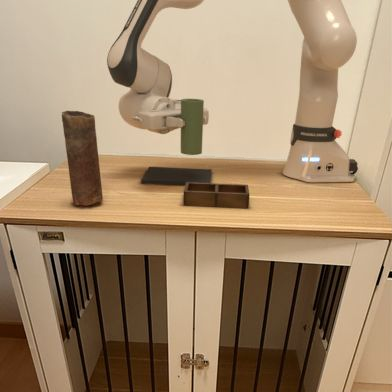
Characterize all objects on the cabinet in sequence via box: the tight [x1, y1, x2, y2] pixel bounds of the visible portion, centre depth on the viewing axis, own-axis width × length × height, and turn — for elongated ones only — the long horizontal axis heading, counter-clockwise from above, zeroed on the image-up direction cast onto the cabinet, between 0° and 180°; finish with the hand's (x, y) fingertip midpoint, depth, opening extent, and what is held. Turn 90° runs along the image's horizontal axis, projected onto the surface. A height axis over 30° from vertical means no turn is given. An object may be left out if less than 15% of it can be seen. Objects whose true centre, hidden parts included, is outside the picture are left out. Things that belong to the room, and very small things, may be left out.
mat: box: [140, 166, 212, 186], centre depth 124 cm, size 20×16×1 cm
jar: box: [180, 98, 205, 156], centre depth 105 cm, size 6×6×12 cm
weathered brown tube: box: [61, 110, 104, 207], centre depth 97 cm, size 8×7×20 cm
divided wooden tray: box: [183, 182, 250, 209], centre depth 106 cm, size 16×9×4 cm, turn 87°
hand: (194, 122), depth 103 cm, fingers closed on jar, 5 cm apart
